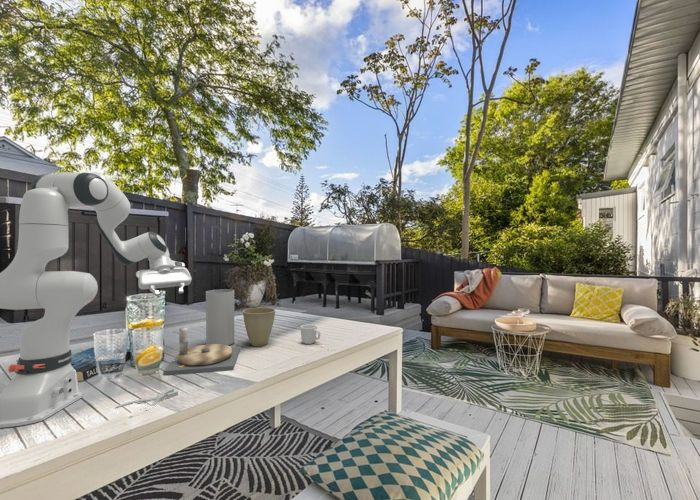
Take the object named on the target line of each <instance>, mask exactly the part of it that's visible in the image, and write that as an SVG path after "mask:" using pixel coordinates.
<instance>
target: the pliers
mask: <svg viewBox="0 0 700 500" xmlns="http://www.w3.org/2000/svg"><path fill="white" fill-rule="evenodd" d="M176 396H179V390H175V389H174V388H173V387H172V388H170V389H168V390H164V391H162V392H160V393H158V394H157V396H154V397H148V398H140V399H135V400H132V401H128V402H125V403H122V404H119V405H117V406H115V408H114V409H116V408H117V409H119V407H120V408H122V406H123V407H125V406H130V405H134V404H133V403H137V404H139V405H142V404H141V403H144V404H146V405H148V404H149V403H150V401H149V400H153V401H152V403H150V404H149V405H148V406H151V405H152V406H155V405H156V404H157V403H158V402H159V403H160V401H161V402H162V401H164V400H163V399H165V400H168V399H170V398H173V397H176ZM143 401H147V402H148V403H146V402H143ZM159 403H158V404H159ZM158 404H157V405H158ZM157 405H156V406H157ZM156 406H155V407H156ZM136 413H137V412H135V413H134V414H136Z"/></svg>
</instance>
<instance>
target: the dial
mask: <svg viewBox="0 0 700 500" xmlns="http://www.w3.org/2000/svg"><path fill="white" fill-rule="evenodd" d="M188 333H189V329H188V327H181V328H180V327H179V329H178V341H179V343H178V346H179V347H178V354H177V355H178V362H179V363H181V364H184V365H207V364H213V363H217V362H220V361H223V360H226V359H228V358H229V357H230V356H231V355H232V348H231V347H232V346H231V345H223V344H201V345H199V344H198V345H195V346H191V347H189V345H188V344H189V343H188V342H189V340H188V338H189V335H188Z"/></svg>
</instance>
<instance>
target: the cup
mask: <svg viewBox="0 0 700 500" xmlns="http://www.w3.org/2000/svg"><path fill="white" fill-rule="evenodd" d="M299 329H300V339H301V342H302V344H305V345H311V344H314V343H315V342H316V341H317V340H320V338H321V331H320V330H319V329H318V326H317V324H312V323H310V324H308V323H307V324H301V325H300V328H299Z"/></svg>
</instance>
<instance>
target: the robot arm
mask: <svg viewBox="0 0 700 500" xmlns="http://www.w3.org/2000/svg"><path fill="white" fill-rule="evenodd" d="M87 206H89V207H91V208H92V209H93V210H94V211H95V212H96V216H95V218H94V221H95V222H94V223H95V226H96V227H97V230H98V232H99V233H100V234H101V236H102V238H103V239H104V241H105V242H106V244H107V245H108V247H109V248H110V249H111V252H112V253H113V255H114V257H115V259H116V260H117V262H118V263H119V264H121V265H124V266H132V265H134V264H136V263H137V262H140V261H142V260H144V259H148V261H149V268H148V269H147V268H146V269H139V270H137V271H136V272H135V276H136V278H137V279H138V280H137V281H138V288H139V289H140V290H143V291H144V290H149V291H150V292H151V293H153V295H154V294H156V295H155V296H154V297H160V291H159V290H156V289H161V288H163V289H164V288H172V287H179V288H178V290H177V291H178V294H184V287H185V286H189V285H190V284H191V283H192V280H193V278H192V276H191V273H190V272H189V269H188V268H187V267H186V264H185V263H184V262H182V261H177V260H172V259H171V257H170V251H169V247H168V246H167V244H166V241H165V239H164V238H163V237H162V236H161V234H159V233H157V232H154V231H148V232H145V233H142V234H140V235H138V236H136V237H132V238H130V239H127V240H121V239H120V237H119V235H118V234H117V233H116V231H115V229H116V228H117V227H118V226H119V225H120V224H121V223H122V222H124V221H125V220H126V219H127V218H128V216H129V214H130V213H131V212H130V211H131V210H132V209H131V202H130V201H129V199H128V197H127V196H126V195H125V193H124V192H123V191H122V190H121V189H120V188H119V187H118V186H117V185H116V183H115V182H113V181H112V180H111V179H109V178H108V177H107V176H106V175H104V174H103V173H100V172H69V171H63V172H61V171H60V172H54V173H51V172H50V173H49V172H48V173H43V174H40V175H37V176H35V177H34V178H33V179H32V180H31V182H30V185H29V190H27V191H25V193H24V194H23V197H22V200H21V204H20V208H19V209H20V210H19V216H18V241H17V248H16V249H17V250H16V254H15V256H14V258H13V259H12V261H11V262H10V263H9V264H8V266H7V267H6V268H5V269H3V270H2V271H1V272H0V309H1V310H2V309H3V310H13V311H14V310H15V311H16V310H17V311H18V310H34V309H35V310H36V309H43V310H44V314H43V316H42V317H41V318H40V319H37V320H35V321H32V322H31V323H29V324H27V325H26V326H24V327H23V328H22V330H21V332H20V333H19V358H18V359H17V362H16V364H13V363H12V364H10V365H9V366H8V368H7V371H8V372H9V373H13V372H15V374H14V376H13V377H12V379H11V380H10V381H9V382H8V384H7V385H6V386H5V387H4V389H3V390H2V392H1V393H0V429H2V428H12V427H19V426H26V425H30V424H35V423H39V422H42V421H44V420H46V419H48V418H49V417H51V416H53V415H55V414H56V413H58V412H60V411H61V410H63V409H65V408H66V407H68V406H70V405H71V404H73V403H76V402H77V401H79V399H82V398H83V397H84V394H83V392H81V391H79V383H78V376H77V371H76V369H75V368H74V367H73V365H72V364H71V362H72V360H73V359H72V358H73V354H72V349H71V348H70V346H71V345H70V339H71V338H70V336H71V327H72V323H73V320H74V319H75V317H76V316H77V314H78V313H79V312H80V311H81V310H82V309H83V308H84V307H85V306H87V305H88V304H89V303H91V302H92V301H93V300H94V299H95V297H96V295H97V294H98V289H99V288H98V287H99V286H98V282H97V279H96V278H95V277H94V276H93V275H92V274H91V273H89V272H83V271H76V270H61V271H59V270H58V271H57V270H56V271H54V270H53V271H51V270H50V271H46V270H45V269H46V266H47V265H48V263H49V262H50V261H53V260H56V259H58V258H60V257H62V256H63V255H65V254H66V253H67V252H68V250H69V248H70V247H69V243H70V242H69V240H70V239H69V235H70V234H69V231H70V229H69V226H70V225H69V214H68V211H69V208H76V207H87Z"/></svg>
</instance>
